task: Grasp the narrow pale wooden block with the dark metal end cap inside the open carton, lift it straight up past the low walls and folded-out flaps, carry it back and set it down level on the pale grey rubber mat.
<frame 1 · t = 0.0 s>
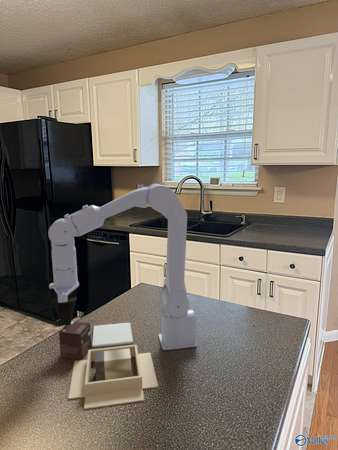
hand: (68, 317, 82), 10 cm above the countertop, tool pointing down, fingers open, 7 cm apart
carton: (113, 374, 75), on the countertop
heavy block: (113, 364, 74), in the carton
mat: (112, 335, 92), on the countertop
box: (76, 353, 84), on the countertop
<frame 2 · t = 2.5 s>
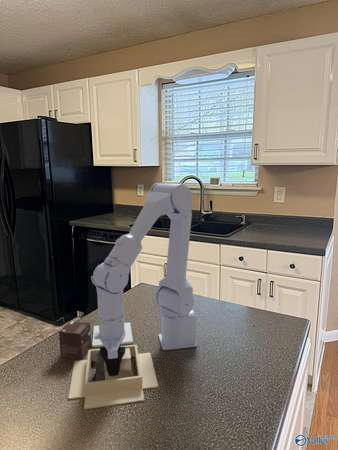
hand: (113, 368, 75), 1 cm above the countertop, tool pointing down, fingers closed on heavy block, 4 cm apart
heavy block: (113, 364, 74), in the carton, touching gripper
everything else where it was.
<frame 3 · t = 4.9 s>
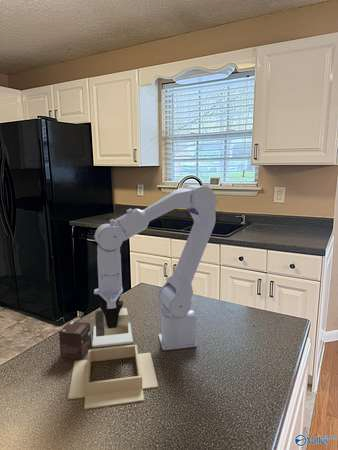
hand: (112, 323, 81), 9 cm above the countertop, tool pointing down, fingers closed on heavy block, 4 cm apart
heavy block: (111, 321, 81), point 9 cm above the countertop, touching gripper
everything else where it was.
when the fingers open (3 cm above the countertop, at t = 7.3 s): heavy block stays where it is, resting on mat.
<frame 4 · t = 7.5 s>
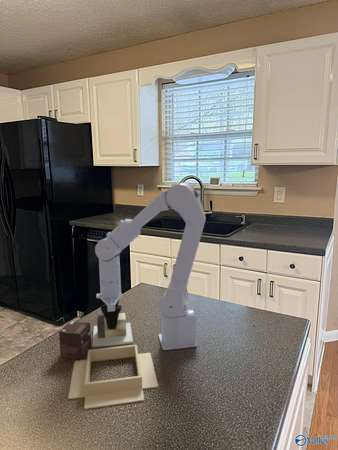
hand: (112, 323, 92), 4 cm above the countertop, tool pointing down, fingers open, 5 cm apart
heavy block: (111, 325, 92), on the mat, point 3 cm above the countertop
everything else where it was.
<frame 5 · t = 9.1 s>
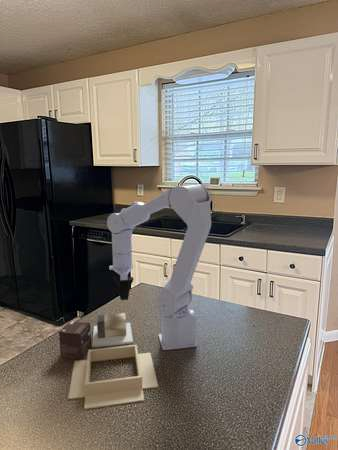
hand: (123, 294, 98), 9 cm above the countertop, tool pointing down, fingers open, 7 cm apart
nothing on the countertop moved.
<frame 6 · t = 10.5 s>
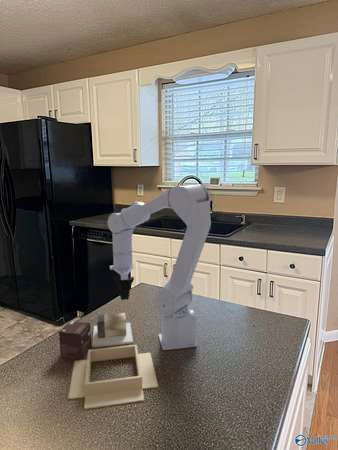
hand: (124, 294, 98), 9 cm above the countertop, tool pointing down, fingers open, 7 cm apart
nothing on the countertop moved.
at the end: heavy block 0.1 cm off-centre on the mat, point 3.1 cm above the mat's base; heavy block tilted 0°; the gripper is holding nothing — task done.
